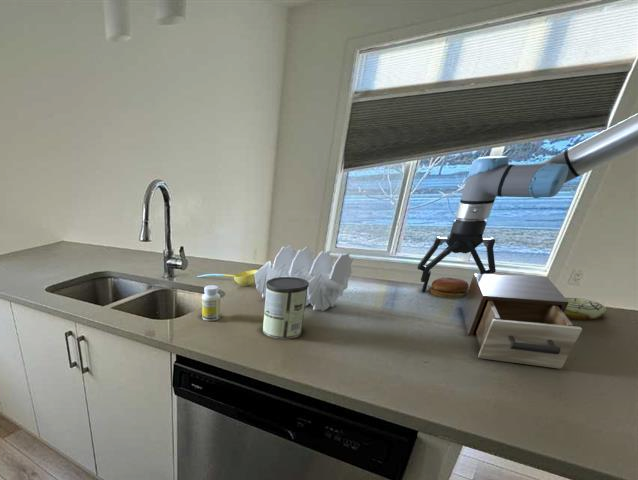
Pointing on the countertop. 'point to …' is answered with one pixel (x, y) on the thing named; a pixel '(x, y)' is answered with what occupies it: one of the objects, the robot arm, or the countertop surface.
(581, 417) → the countertop surface
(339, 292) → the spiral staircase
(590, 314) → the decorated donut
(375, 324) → the countertop surface
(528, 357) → the drawer
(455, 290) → the burger
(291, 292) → the coffee can
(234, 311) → the countertop surface
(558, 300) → the cabinet
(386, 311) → the countertop surface
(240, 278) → the ladle
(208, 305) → the supplement bottle
